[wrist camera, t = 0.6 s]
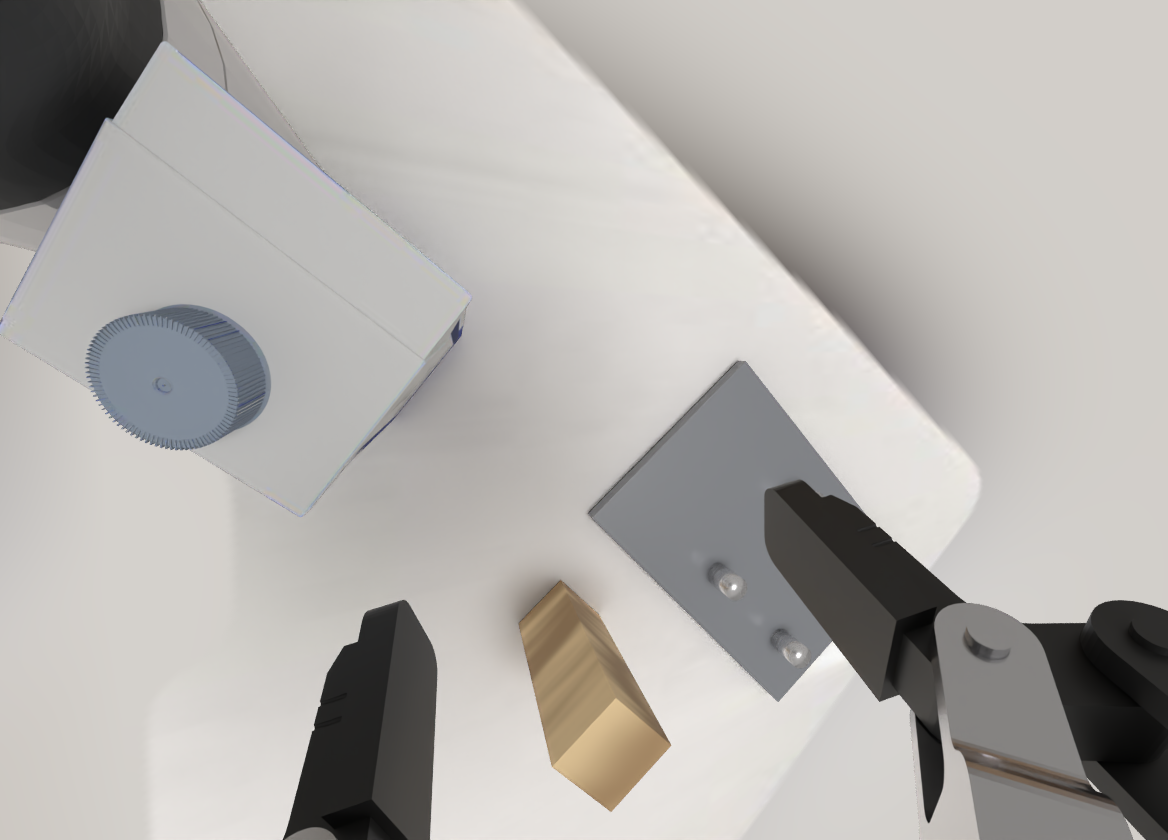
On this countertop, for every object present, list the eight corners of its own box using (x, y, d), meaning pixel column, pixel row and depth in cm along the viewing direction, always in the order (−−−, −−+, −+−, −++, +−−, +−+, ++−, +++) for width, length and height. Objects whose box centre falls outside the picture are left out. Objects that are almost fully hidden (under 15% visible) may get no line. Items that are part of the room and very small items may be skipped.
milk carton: (464, 336, 30) (477, 298, 10) (393, 424, 29) (273, 549, 10) (362, 255, 28) (150, 26, 9) (285, 347, 27) (-119, 323, 8)
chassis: (588, 513, 33) (603, 531, 30) (737, 361, 35) (767, 361, 31) (770, 693, 39) (799, 725, 36) (891, 556, 40) (931, 574, 37)
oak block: (518, 623, 33) (551, 766, 21) (560, 579, 33) (615, 697, 22) (558, 657, 34) (611, 811, 22) (599, 615, 34) (671, 745, 23)
